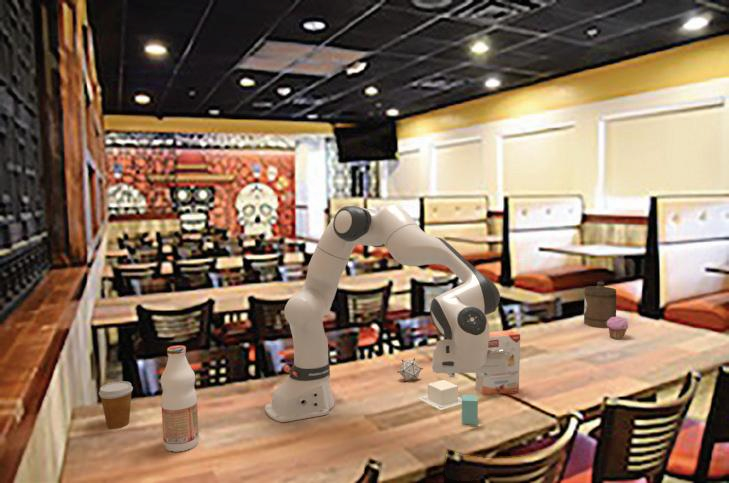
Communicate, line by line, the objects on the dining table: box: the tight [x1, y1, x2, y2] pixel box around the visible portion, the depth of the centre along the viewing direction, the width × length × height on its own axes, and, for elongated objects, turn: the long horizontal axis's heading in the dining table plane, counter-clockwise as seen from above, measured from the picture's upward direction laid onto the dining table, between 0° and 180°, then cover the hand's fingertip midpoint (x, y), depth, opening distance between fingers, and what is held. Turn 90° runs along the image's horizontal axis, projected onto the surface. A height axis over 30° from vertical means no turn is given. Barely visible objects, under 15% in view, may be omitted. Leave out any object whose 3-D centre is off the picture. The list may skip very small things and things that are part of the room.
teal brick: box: [461, 394, 479, 428], centre depth 163 cm, size 4×4×8 cm
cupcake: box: [607, 316, 629, 340], centre depth 250 cm, size 9×9×10 cm
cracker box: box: [475, 329, 521, 396], centre depth 187 cm, size 14×6×21 cm, turn 105°
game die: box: [396, 357, 424, 383], centre depth 200 cm, size 9×8×10 cm
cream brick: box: [427, 379, 459, 405], centre depth 180 cm, size 7×7×5 cm
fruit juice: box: [160, 345, 200, 453], centre depth 152 cm, size 9×9×28 cm
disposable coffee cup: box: [98, 381, 134, 429], centre depth 167 cm, size 10×10×12 cm
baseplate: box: [417, 394, 462, 411], centre depth 180 cm, size 12×12×1 cm
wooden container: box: [583, 280, 617, 329], centre depth 274 cm, size 15×15×22 cm
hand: (469, 375), depth 152 cm, fingers open, 8 cm apart
